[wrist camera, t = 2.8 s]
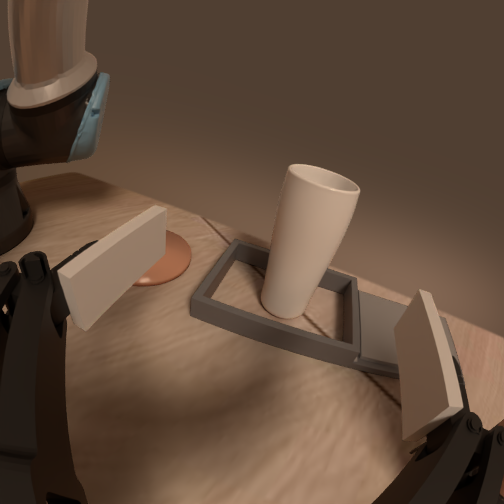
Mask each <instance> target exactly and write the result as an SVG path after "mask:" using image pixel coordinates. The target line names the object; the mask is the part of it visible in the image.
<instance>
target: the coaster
mask: <svg viewBox="0 0 504 504" xmlns="http://www.w3.org/2000/svg"><path fill="white" fill-rule="evenodd" d="M190 261H191V249H190V246H189V245H188V243H187V242H186V241H185V240H184V239H183V238H182V237H180V236H179V235H177V234H175V233H173V232H170V231H167V230H166V248H165V255H164V256H163V257H162V258H161V259H159V260H158V261H157V262H156V263H155V264H154V265H153V266H152V267H151V268H150V269H149V270H148V271H147V272H146V273H144V274H143V275H142V276H141V277H140V278H139V279H138V280H137V281H136V282H135V283H134V284H133V286H154V285H159V284H163V283H166V282H169V281H171V280H174V279H175V278H177V277H179V276H180V275H181V274H183V273H184V272H185V271H186V269H187V268H188V267H189V264H190Z"/></svg>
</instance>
